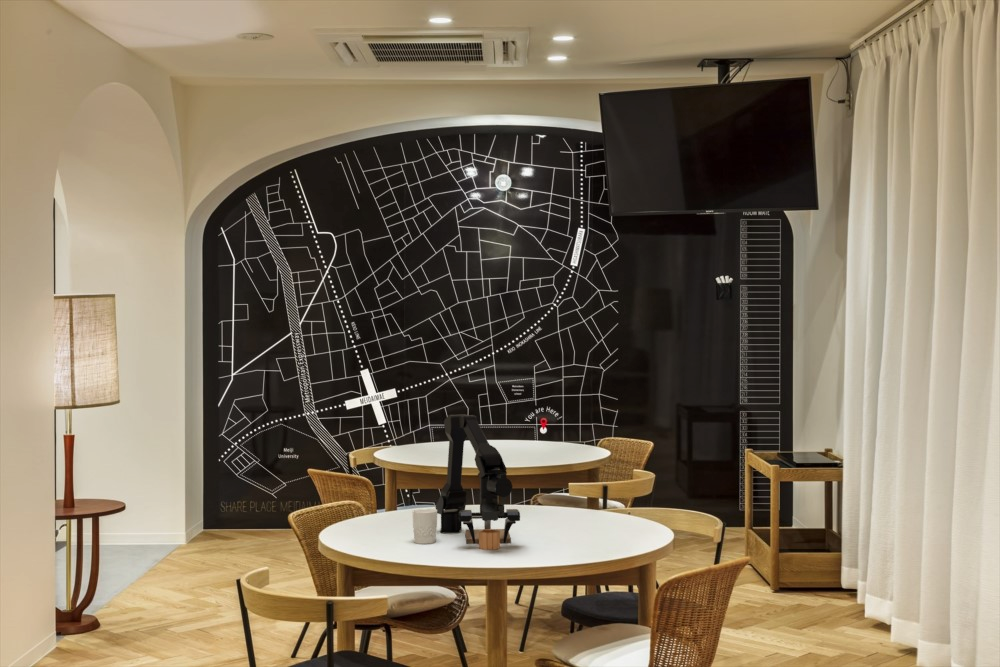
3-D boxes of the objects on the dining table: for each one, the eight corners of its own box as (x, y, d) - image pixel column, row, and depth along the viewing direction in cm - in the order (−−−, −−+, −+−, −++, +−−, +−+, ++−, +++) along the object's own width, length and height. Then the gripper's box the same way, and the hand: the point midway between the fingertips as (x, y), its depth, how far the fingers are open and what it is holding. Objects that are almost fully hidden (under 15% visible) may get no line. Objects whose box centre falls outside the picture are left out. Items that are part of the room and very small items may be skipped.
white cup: (408, 543, 303) (408, 511, 303) (419, 538, 311) (418, 507, 311) (431, 545, 301) (431, 513, 301) (441, 540, 308) (441, 509, 308)
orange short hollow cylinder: (479, 549, 293) (479, 533, 293) (478, 545, 300) (478, 529, 300) (500, 549, 294) (500, 533, 294) (499, 545, 300) (499, 529, 300)
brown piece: (466, 543, 302) (466, 523, 302) (465, 534, 318) (465, 514, 318) (510, 543, 303) (510, 522, 303) (507, 533, 319) (507, 513, 319)
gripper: (459, 497, 288) (459, 549, 288) (521, 496, 289) (521, 548, 289) (458, 491, 300) (458, 542, 299) (518, 490, 300) (518, 541, 300)
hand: (489, 543), depth 297 cm, fingers open, 9 cm apart
